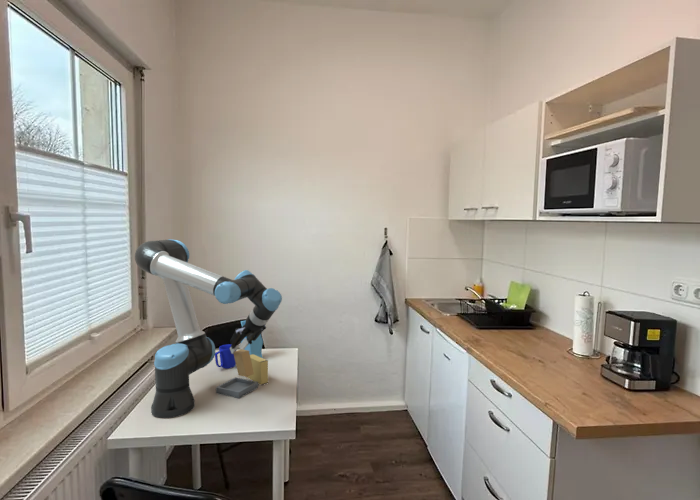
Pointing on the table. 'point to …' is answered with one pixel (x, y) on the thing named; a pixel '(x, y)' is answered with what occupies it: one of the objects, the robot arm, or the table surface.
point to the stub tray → (237, 387)
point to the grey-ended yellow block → (259, 370)
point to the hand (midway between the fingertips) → (236, 349)
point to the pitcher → (254, 345)
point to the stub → (243, 363)
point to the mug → (225, 357)
